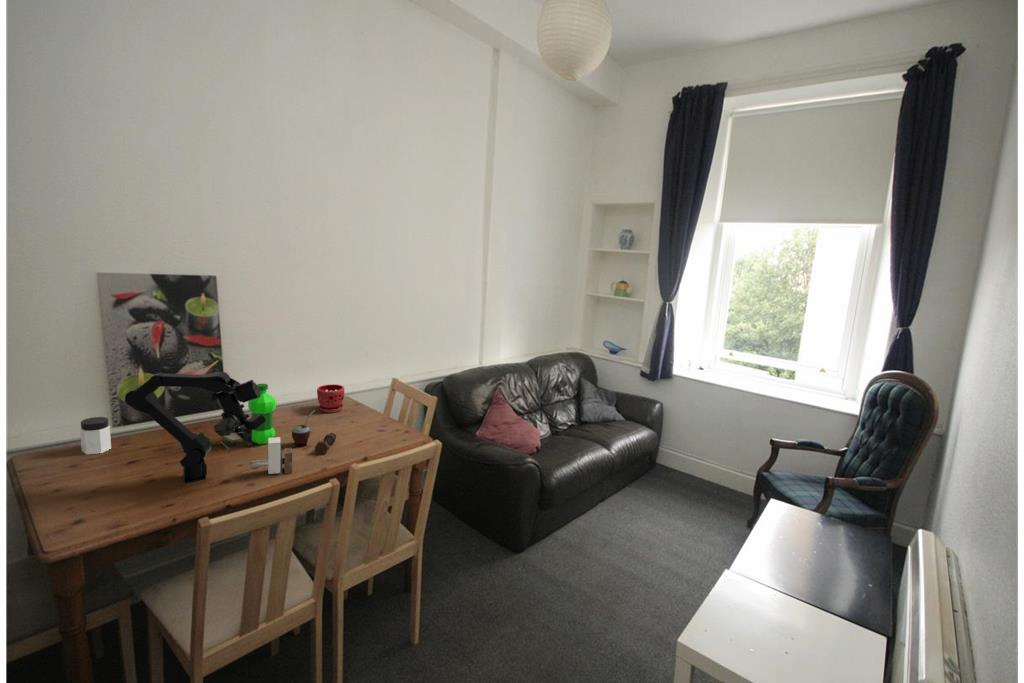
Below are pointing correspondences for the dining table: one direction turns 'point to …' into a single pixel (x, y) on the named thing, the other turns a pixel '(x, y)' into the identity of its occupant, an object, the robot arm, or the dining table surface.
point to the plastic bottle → (265, 408)
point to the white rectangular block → (274, 456)
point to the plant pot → (330, 397)
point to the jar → (95, 435)
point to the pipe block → (287, 461)
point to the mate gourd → (301, 434)
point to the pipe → (262, 463)
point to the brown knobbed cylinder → (325, 443)
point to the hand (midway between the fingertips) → (249, 443)
